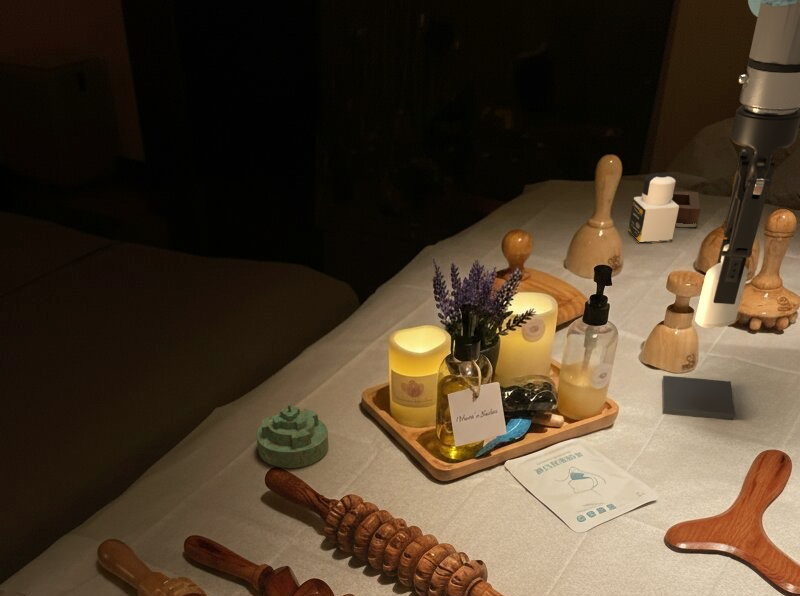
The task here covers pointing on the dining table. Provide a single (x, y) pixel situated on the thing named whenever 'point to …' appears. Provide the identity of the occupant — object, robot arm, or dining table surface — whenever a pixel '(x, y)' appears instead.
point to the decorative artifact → (292, 438)
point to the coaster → (697, 397)
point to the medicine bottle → (654, 209)
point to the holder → (687, 206)
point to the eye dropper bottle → (717, 312)
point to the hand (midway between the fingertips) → (722, 294)
